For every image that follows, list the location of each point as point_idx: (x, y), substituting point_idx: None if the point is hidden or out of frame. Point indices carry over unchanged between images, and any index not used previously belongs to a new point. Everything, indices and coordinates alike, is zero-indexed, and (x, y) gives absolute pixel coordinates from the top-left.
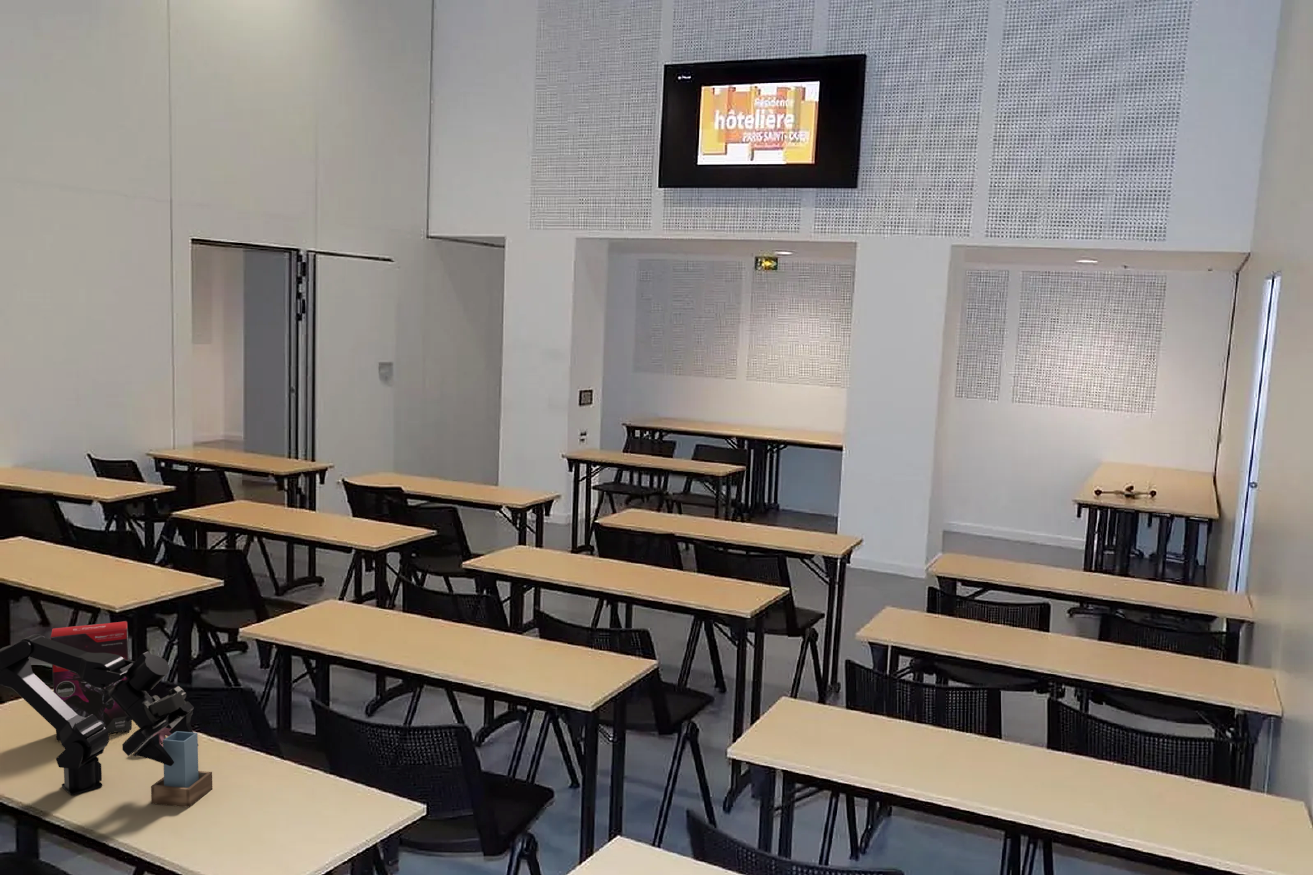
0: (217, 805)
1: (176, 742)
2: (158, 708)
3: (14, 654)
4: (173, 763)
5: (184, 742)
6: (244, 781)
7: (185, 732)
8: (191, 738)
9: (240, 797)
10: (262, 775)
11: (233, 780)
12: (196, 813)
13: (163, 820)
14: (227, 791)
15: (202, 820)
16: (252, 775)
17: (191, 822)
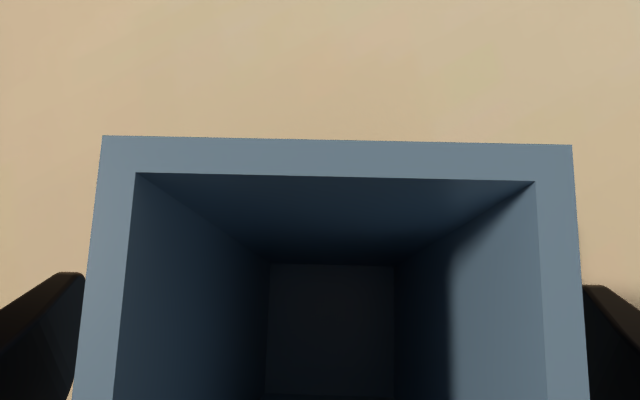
0: (395, 74)
1: (574, 320)
2: None
3: None
4: (594, 286)
5: (563, 146)
6: (99, 78)
7: (104, 394)
8: (320, 145)
9: (287, 7)
10: (18, 21)
11: (91, 141)
12: (504, 133)
13: (623, 265)
14: (229, 105)
15: (567, 63)
16: (21, 72)
17: (602, 105)
